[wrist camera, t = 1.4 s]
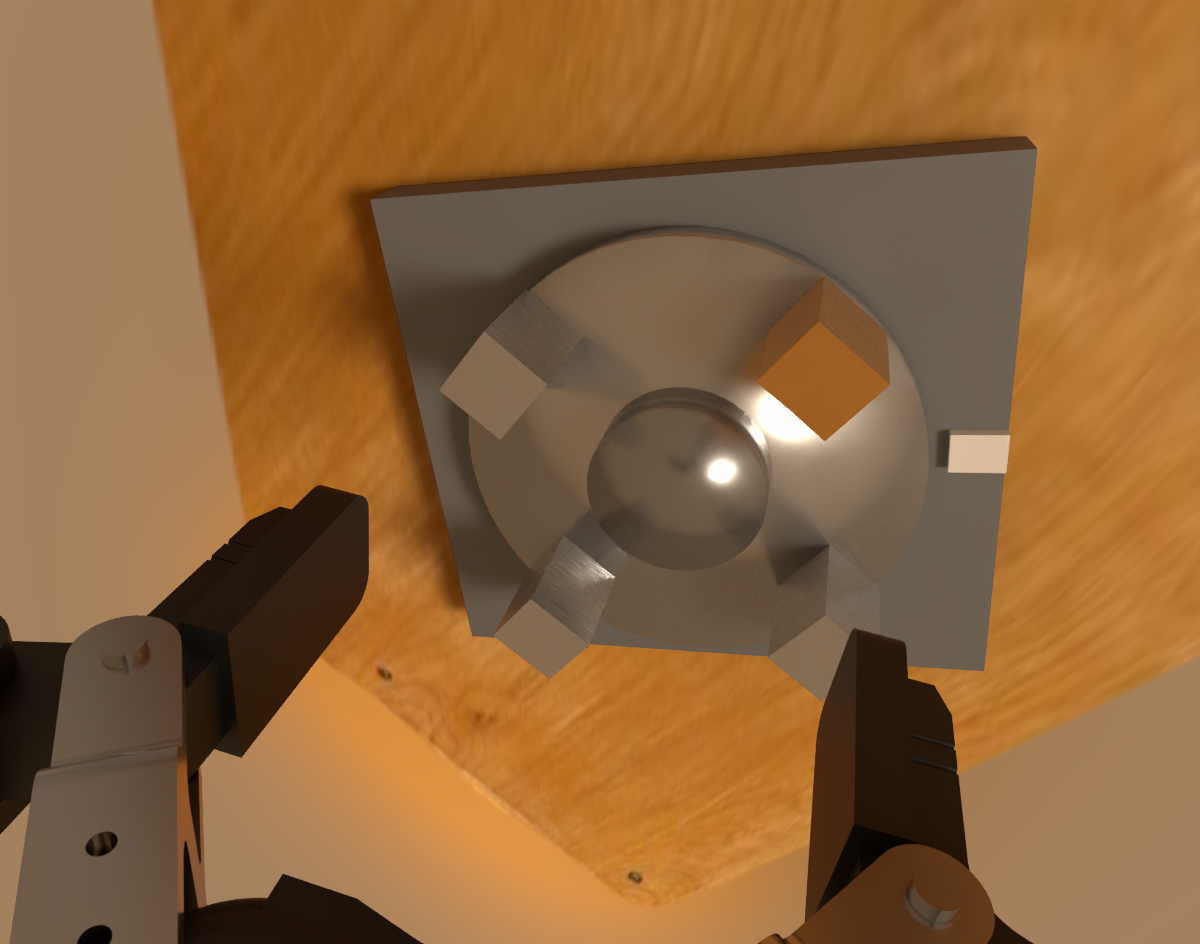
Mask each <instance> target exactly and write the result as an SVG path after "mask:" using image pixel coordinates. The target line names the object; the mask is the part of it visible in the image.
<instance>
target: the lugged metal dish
mask: <svg viewBox="0 0 1200 944" xmlns="http://www.w3.org/2000/svg"><path fill="white" fill-rule="evenodd" d="M439 391H441V392H442V393H443V394H444V395H445V396H447V397H448V398H449V399H450V400H452V401H453V402H454V403H455V404H457V405H458V406H459V407H460V408H461V409H463V410H464V411H465V412H466V413H468V414H469V444H470V451H471V458H472V464H473V468H474V472H475V475H476V479H477V482H478V486H479V489H480V491H481V494H482V496H483V498H484V501H485V503H486V506H487V508H488V510H489V512H490V514H491V516H492V518H493V519H494V521H495V523H496V525H497V527H498V528H499V530H500V532H501V534H502V535H503V536H504V538H505V539H506V540H507V542H508V543H509V545H510V546H511V547H512V549H513V550H514V551H515V553H516V554H517V555H518V556H519V557H520V559H521V560H522V561H523V562H524V563H525V564H526V565H527V566H528V567H529V568H530V569H529V570H528V572H527V574H526V576H525V578H524V579H523V581H522V583H521V585H520V587H519V589H518V590H517V592H516V594H515V596H514V598H513V600H512V601H511V603H510V605H509V607H508V609H507V611H506V613H505V614H504V616H503V618H502V620H501V622H500V624H499V625H498V627H497V629H496V631H495V633H494V635H493V636H495V637H496V638H497V639H499V640H500V641H501V642H502V643H504V644H505V645H506V646H508V647H509V648H510V649H511V650H513V651H514V652H515V653H517V654H518V655H519V656H520V657H522V658H523V659H524V660H526V661H527V662H528V663H530V664H531V665H532V666H533V667H535V668H536V669H537V670H539V671H540V672H541V673H542V674H544V675H545V676H546V677H548V678H549V679H550V678H552V677H553V676H554V675H555V674H556V673H557V672H559V671H560V670H561V669H562V668H563V667H564V666H565V665H567V664H568V663H569V662H570V661H571V660H572V659H574V658H575V657H576V656H577V655H578V654H579V653H581V652H582V651H583V650H584V649H585V648H586V647H587V646H589V644H590V642H591V639H592V637H593V634H594V632H595V629H596V626H597V624H598V621H599V620H601V621H604V622H606V623H608V624H610V625H613V626H615V627H617V628H619V629H622V630H625V631H628V632H631V633H634V634H637V635H640V636H643V637H646V638H649V639H654V640H658V641H663V642H667V643H672V644H678V645H687V646H695V647H724V648H728V647H739V646H750V645H757V644H762V643H767V642H770V644H769V652H768V658H769V659H770V660H771V661H773V662H774V663H775V664H776V665H778V666H779V667H780V668H781V669H783V670H784V671H785V672H786V673H787V674H789V675H790V676H791V677H792V678H794V679H795V680H796V681H797V682H799V683H800V684H801V685H802V686H803V687H805V688H806V689H807V690H808V691H810V692H811V693H812V694H813V695H815V696H816V697H817V698H818V699H819V700H821V701H822V700H824V699H825V698H826V697H827V694H828V692H829V689H830V686H831V684H832V681H833V678H834V676H835V673H836V670H837V667H838V665H839V662H840V659H841V657H842V654H843V651H844V649H845V646H846V643H847V641H848V638H849V636H850V633H851V632H852V630H853V629H854V628H856V629H860V630H864V631H867V632H871V633H875V634H879V635H880V595H879V586H878V585H877V584H878V583H879V582H880V581H881V580H882V579H883V578H884V577H885V575H886V574H887V573H888V572H889V571H890V570H891V569H892V567H893V566H894V564H895V563H896V561H897V560H898V558H899V557H900V555H901V554H902V552H903V551H904V549H905V548H906V546H907V544H908V542H909V540H910V538H911V536H912V533H913V531H914V529H915V527H916V525H917V523H918V519H919V516H920V513H921V509H922V506H923V503H924V499H925V495H926V487H927V480H928V473H929V450H928V435H927V427H926V421H925V415H924V410H923V404H922V399H921V394H920V391H919V389H918V386H917V383H916V380H915V377H914V374H913V371H912V368H911V366H910V364H909V362H908V360H907V358H906V356H905V355H904V353H903V351H902V349H901V347H900V345H899V343H898V341H897V340H896V338H895V337H894V335H893V334H892V333H891V331H890V330H889V328H888V327H887V326H886V324H885V323H884V322H883V320H882V319H881V317H880V316H879V315H878V314H877V313H876V312H875V310H874V309H873V308H872V307H871V306H870V305H869V304H868V303H867V302H866V301H865V300H864V299H863V298H862V297H861V296H860V295H859V294H858V293H857V292H856V291H855V290H854V289H852V288H851V287H850V286H849V285H847V284H846V283H845V282H844V281H842V280H841V279H840V278H838V277H837V276H836V275H835V274H833V273H832V272H831V271H829V270H828V269H826V268H824V267H823V266H821V265H819V264H817V263H816V262H814V261H812V260H811V259H809V258H807V257H806V256H804V255H802V254H800V253H798V252H795V251H793V250H791V249H788V248H786V247H784V246H781V245H779V244H777V243H774V242H772V241H769V240H765V239H762V238H758V237H754V236H751V235H747V234H744V233H740V232H735V231H728V230H720V229H713V228H706V227H669V228H661V229H654V230H646V231H639V232H635V233H632V234H628V235H624V236H621V237H617V238H613V239H610V240H607V241H605V242H603V243H600V244H598V245H596V246H593V247H591V248H588V249H586V250H584V251H582V252H580V253H578V254H577V255H575V256H573V257H572V258H570V259H568V260H567V261H565V262H564V263H562V264H560V265H559V266H557V267H556V268H555V269H553V270H552V271H551V272H550V273H548V274H547V275H546V276H545V277H544V278H542V279H541V280H540V281H539V282H538V283H536V284H535V285H534V286H533V287H532V288H531V289H530V290H528V289H526V290H525V291H524V292H523V293H522V294H521V295H520V296H519V297H518V298H517V299H516V300H515V301H514V302H513V303H512V304H511V305H510V306H509V307H508V308H507V309H506V310H505V311H504V312H503V313H502V314H501V315H500V316H499V317H498V318H497V319H496V320H495V321H494V322H493V323H492V324H491V325H490V326H489V327H488V328H487V329H486V330H485V331H484V332H483V333H482V335H481V336H480V337H479V338H478V340H477V341H476V342H475V344H474V345H473V346H472V348H471V349H470V350H469V352H468V353H467V354H466V355H465V357H464V358H463V359H462V361H461V362H460V363H459V365H458V366H457V367H456V368H455V370H454V371H453V372H452V374H451V375H450V376H449V378H448V379H447V380H446V382H445V383H444V384H443V385H442V387H441V388H440V389H439Z"/></svg>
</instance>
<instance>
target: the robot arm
mask: <svg viewBox="0 0 1200 944" xmlns="http://www.w3.org/2000/svg"><path fill="white" fill-rule="evenodd" d="M368 574H369V510H368V502H367V500H366V498H365V497H363V496H360V495H356V494H353V493H349V492H345V491H341V490H338V489H334V488H330V487H326V486H322V485H319V486H316V487H315V488H313V489H312V490H311V491H310V492H309V493H308V494H307V495H306V496H305V497H304V498H303V499H302V500H301V501H300V502H299V503H298V504H297V505H296V506H295V507H294V508H293V509H292V510H291V509H287V508H283V507H278V508H276V509H274V510H272V511H269V512H267V513H265V514H263V515H261V516H259V517H256V518H254V519H252V520H250V521H249V522H248V523H247V524H246V525H244V526H243V527H242V528H241V529H240V530H239V531H238V532H237V533H236V534H235V535H234V536H233V537H231V538H230V539H229V542H228V544H224V545H223V546H222V547H221V548H220V549H219V550H217V551H216V552H215V553H214V554H213V555H212V558H211V560H207V561H206V562H204V563H203V564H202V565H201V566H200V567H199V568H198V569H197V570H196V571H195V572H194V573H193V574H192V575H191V576H189V577H188V578H187V579H186V580H185V581H184V582H183V583H182V584H181V585H180V586H179V587H178V588H176V589H175V590H174V591H173V592H172V593H171V594H170V595H169V596H168V597H167V598H166V599H165V600H163V601H162V602H161V603H160V604H159V605H158V606H157V607H156V608H155V609H154V610H153V611H152V612H151V613H150V614H148V615H147V616H138V615H136V616H125V617H120V618H115V619H112V620H108V621H105V622H103V623H100V624H98V625H96V626H94V627H92V628H90V629H89V630H87V631H86V632H84V633H83V634H81V635H80V636H79V637H78V638H77V639H76V640H75V641H74V642H73V643H57V642H22V641H12V639H11V635H10V631H9V628H8V625H7V623H6V621H5V620H4V619H3V618H2V617H1V616H0V834H1V833H2V832H3V831H4V830H5V829H6V828H7V827H8V826H9V824H10V823H11V822H12V821H13V820H14V819H15V818H16V817H17V816H18V815H19V814H20V813H21V812H22V810H23V809H24V808H25V807H26V806H27V805H28V804H29V803H30V810H29V816H28V823H27V829H26V836H25V843H24V849H23V856H22V863H21V869H20V876H19V883H18V890H17V896H16V903H15V910H14V916H13V923H12V930H11V937H10V943H9V944H423V943H421V942H419V941H417V940H416V939H415V938H413V937H412V936H410V935H409V934H408V933H406V932H404V931H403V930H402V929H400V928H399V927H397V926H396V925H394V924H393V923H391V922H390V921H388V920H387V919H386V918H384V917H383V916H381V915H380V914H378V913H377V912H375V911H374V910H372V909H371V908H370V907H368V906H367V905H365V904H364V903H362V902H361V901H359V900H358V899H356V898H353V897H350V896H347V895H344V894H341V893H338V892H335V891H333V890H329V889H326V888H323V887H320V886H318V885H315V884H311V883H308V882H306V881H303V880H300V879H297V878H294V877H290V876H288V875H285V874H283V875H282V876H281V878H280V879H279V881H278V883H277V884H276V886H275V887H274V889H273V890H272V892H271V894H270V895H269V897H268V898H247V899H235V900H229V901H224V902H218V903H214V904H211V905H207V904H206V893H205V872H204V837H203V806H202V805H203V803H202V776H201V769H200V766H201V764H202V763H203V762H204V761H205V759H206V758H207V757H208V756H209V755H210V753H211V752H212V751H213V750H214V749H216V750H219V751H222V752H225V753H229V754H232V755H235V756H238V757H241V758H242V756H243V755H244V754H245V752H246V751H247V750H248V749H249V747H250V746H251V745H252V743H253V742H254V741H255V739H256V738H257V737H258V736H259V734H260V733H261V732H262V730H263V729H264V728H265V726H266V725H267V724H268V723H269V721H270V720H271V719H272V717H273V716H274V715H275V713H276V712H277V711H278V710H279V708H280V707H281V706H282V705H283V703H284V702H285V701H286V699H287V698H288V697H289V696H290V694H291V693H292V691H293V690H294V689H295V688H296V686H297V685H298V684H299V683H300V681H301V680H302V679H303V677H304V676H305V675H306V673H307V672H308V671H309V670H310V668H311V667H312V666H313V664H314V663H315V662H316V661H317V659H318V658H319V657H320V655H321V654H322V653H323V652H324V650H325V649H326V648H327V646H328V645H329V644H330V643H331V641H332V640H333V639H334V637H335V636H336V635H337V633H338V632H339V631H340V630H341V628H342V627H343V626H344V624H345V623H346V622H347V621H348V619H349V618H350V617H351V615H352V614H353V613H354V611H355V610H356V609H357V607H358V605H359V604H360V602H361V600H362V597H363V595H364V592H365V589H366V585H367V581H368ZM954 746H955V741H954V732H953V722H952V715H951V713H950V711H949V710H948V708H947V706H946V705H945V703H944V701H943V700H942V698H941V696H940V694H939V693H938V691H937V689H936V688H935V686H934V685H931V684H927V683H923V682H920V681H916V680H912V679H909V678H908V670H907V652H906V644H905V642H904V641H901V640H897V639H894V638H890V637H886V636H882V635H879V634H875V633H871V632H867V631H864V630H860V629H856V628H854V629H853V630H852V632H851V633H850V636H849V638H848V641H847V643H846V646H845V649H844V651H843V654H842V657H841V659H840V662H839V665H838V667H837V670H836V673H835V676H834V678H833V681H832V684H831V686H830V689H829V692H828V694H827V697H826V700H825V703H824V706H823V710H822V713H821V717H820V722H819V727H818V733H817V740H816V754H815V770H814V785H813V801H812V817H811V832H810V849H809V863H808V864H809V865H808V879H807V895H806V910H805V923H804V924H803V925H802V926H801V927H799V928H798V929H797V930H796V931H795V932H794V933H792V934H791V935H790V936H788V937H787V938H785V939H782V937H781V936H780V935H778V934H772V935H770V936H768V937H766V938H765V939H763V940H762V941H761V942H759V943H758V944H1033V943H1032V942H1030V941H1028V940H1027V939H1025V938H1024V937H1022V936H1020V935H1019V934H1018V933H1016V932H1015V931H1013V930H1012V929H1011V928H1010V927H1009V926H1007V925H1006V924H1005V923H1004V922H1003V921H1002V920H1001V919H999V917H998V916H996V915H995V913H994V910H993V907H992V904H991V901H990V899H989V897H988V895H987V892H986V891H985V889H984V888H983V886H982V885H981V883H980V882H979V881H978V879H977V878H976V877H975V876H974V875H973V874H972V873H971V872H970V870H969V866H968V859H967V849H966V841H965V831H964V822H963V814H962V805H961V795H960V786H959V777H958V775H957V769H958V768H957V759H956V750H954Z"/></svg>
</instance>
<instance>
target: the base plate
mask: <svg viewBox="0 0 1200 944" xmlns="http://www.w3.org/2000/svg"><path fill="white" fill-rule="evenodd" d="M1036 156H1037V148H1036V147H1035V146H1034V144H1033V143H1032V142H1031V141H1030V140H1029V139H1028V138H1027V136H1026V137H1013V138H1001V139H988V140H976V141H963V142H951V143H938V144H925V145H913V146H900V147H888V148H875V149H863V150H850V151H838V152H825V153H812V154H800V155H787V156H775V157H762V158H750V159H737V160H725V161H712V162H700V163H687V164H674V165H662V166H649V167H637V168H624V169H612V170H599V171H587V172H574V173H561V174H549V175H536V176H524V177H511V178H499V179H486V180H474V181H461V182H448V183H436V184H423V185H411V186H398V187H394V188H392V189H390V190H388V191H386V192H384V193H382V194H380V195H378V196H376V197H374V198H372V199H370V202H371V206H372V211H373V215H374V219H375V223H376V228H377V232H378V236H379V240H380V245H381V249H382V253H383V257H384V262H385V266H386V270H387V274H388V279H389V283H390V287H391V291H392V296H393V300H394V304H395V308H396V313H397V317H398V321H399V326H400V330H401V334H402V338H403V343H404V347H405V351H406V355H407V360H408V364H409V368H410V372H411V377H412V381H413V385H414V389H415V394H416V398H417V402H418V406H419V411H420V415H421V419H422V423H423V428H424V432H425V436H426V441H427V445H428V449H429V453H430V458H431V462H432V466H433V470H434V475H435V479H436V483H437V487H438V492H439V496H440V500H441V504H442V509H443V513H444V517H445V521H446V526H447V530H448V534H449V538H450V543H451V547H452V551H453V556H454V560H455V564H456V568H457V573H458V577H459V581H460V585H461V590H462V594H463V598H464V602H465V607H466V611H467V615H468V619H469V624H470V628H471V632H472V636H481V637H495V636H493V635H494V633H495V631H496V629H497V627H498V625H499V624H500V622H501V620H502V618H503V616H504V614H505V613H506V611H507V609H508V607H509V605H510V603H511V601H512V600H513V598H514V596H515V594H516V592H517V590H518V589H519V587H520V585H521V583H522V581H523V579H524V578H525V576H526V574H527V572H528V570H529V569H530V568H529V567H528V566H527V565H526V564H525V563H524V562H523V561H522V560H521V559H520V557H519V556H518V555H517V554H516V553H515V551H514V550H513V549H512V547H511V546H510V545H509V543H508V542H507V540H506V539H505V538H504V536H503V535H502V534H501V532H500V530H499V528H498V527H497V525H496V523H495V521H494V519H493V518H492V516H491V514H490V512H489V510H488V508H487V506H486V503H485V501H484V498H483V496H482V494H481V491H480V489H479V486H478V482H477V479H476V475H475V472H474V468H473V464H472V458H471V451H470V444H469V414H468V413H466V412H465V411H464V410H463V409H461V408H460V407H459V406H458V405H457V404H455V403H454V402H453V401H452V400H450V399H449V398H448V397H447V396H445V395H444V394H443V393H442V392H441V391H439V389H440V388H441V387H442V385H443V384H444V383H445V382H446V380H447V379H448V378H449V376H450V375H451V374H452V372H453V371H454V370H455V368H456V367H457V366H458V365H459V363H460V362H461V361H462V359H463V358H464V357H465V355H466V354H467V353H468V352H469V350H470V349H471V348H472V346H473V345H474V344H475V342H476V341H477V340H478V338H479V337H480V336H481V335H482V333H483V332H484V331H485V330H486V329H487V328H488V327H489V326H490V325H491V324H492V323H493V322H494V321H495V320H496V319H497V318H498V317H499V316H500V315H501V314H502V313H503V312H504V311H505V310H506V309H507V308H508V307H509V306H510V305H511V304H512V303H513V302H514V301H515V300H516V299H517V298H518V297H519V296H520V295H521V294H522V293H523V292H524V291H525V290H526V289H528V290H530V289H531V288H532V287H533V286H534V285H535V284H536V283H538V282H539V281H540V280H541V279H542V278H544V277H545V276H546V275H547V274H548V273H550V272H551V271H552V270H553V269H555V268H556V267H557V266H559V265H560V264H562V263H564V262H565V261H567V260H568V259H570V258H572V257H573V256H575V255H577V254H578V253H580V252H582V251H584V250H586V249H588V248H591V247H593V246H596V245H598V244H600V243H603V242H605V241H607V240H610V239H613V238H617V237H621V236H624V235H628V234H632V233H635V232H639V231H646V230H654V229H661V228H669V227H706V228H713V229H720V230H728V231H735V232H740V233H744V234H747V235H751V236H754V237H758V238H762V239H765V240H769V241H772V242H774V243H777V244H779V245H781V246H784V247H786V248H788V249H791V250H793V251H795V252H798V253H800V254H802V255H804V256H806V257H807V258H809V259H811V260H812V261H814V262H816V263H817V264H819V265H821V266H823V267H824V268H826V269H828V270H829V271H831V272H832V273H833V274H835V275H836V276H837V277H838V278H840V279H841V280H842V281H844V282H845V283H846V284H847V285H849V286H850V287H851V288H852V289H854V290H855V291H856V292H857V293H858V294H859V295H860V296H861V297H862V298H863V299H864V300H865V301H866V302H867V303H868V304H869V305H870V306H871V307H872V308H873V309H874V310H875V312H876V313H877V314H878V315H879V316H880V317H881V319H882V320H883V322H884V323H885V324H886V326H887V327H888V328H889V330H890V331H891V333H892V334H893V335H894V337H895V338H896V340H897V341H898V343H899V345H900V347H901V349H902V351H903V353H904V355H905V356H906V358H907V360H908V362H909V364H910V366H911V368H912V371H913V374H914V377H915V380H916V383H917V386H918V389H919V391H920V394H921V399H922V404H923V410H924V415H925V421H926V427H927V435H928V450H929V473H928V480H927V487H926V495H925V499H924V503H923V506H922V509H921V513H920V516H919V519H918V523H917V525H916V527H915V529H914V531H913V533H912V536H911V538H910V540H909V542H908V544H907V546H906V548H905V549H904V551H903V552H902V554H901V555H900V557H899V558H898V560H897V561H896V563H895V564H894V566H893V567H892V569H891V570H890V571H889V572H888V573H887V574H886V575H885V577H884V578H883V579H882V580H881V581H880V582H879V583H878V584H877V585H878V586H879V595H880V635H882V636H886V637H890V638H894V639H897V640H901V641H904V642H905V644H906V652H907V666H916V667H930V668H945V669H959V670H974V671H984V665H985V655H986V645H987V636H988V626H989V616H990V606H991V596H992V587H993V577H994V567H995V557H996V547H997V538H998V528H999V518H1000V508H1001V499H1002V489H1003V479H1004V473H1006V471H1007V461H1008V452H1009V442H1010V433H1009V420H1010V410H1011V401H1012V391H1013V381H1014V371H1015V361H1016V352H1017V342H1018V332H1019V322H1020V313H1021V303H1022V293H1023V283H1024V273H1025V264H1026V254H1027V244H1028V234H1029V224H1030V215H1031V205H1032V195H1033V185H1034V175H1035V166H1036ZM495 638H496V637H495ZM590 644H597V645H611V646H626V647H640V648H655V649H669V650H684V651H698V652H713V653H727V654H742V655H756V656H768V652H769V644H770V642H767V643H762V644H757V645H750V646H739V647H728V648H724V647H695V646H687V645H678V644H672V643H667V642H663V641H658V640H654V639H649V638H646V637H643V636H640V635H637V634H634V633H631V632H628V631H625V630H622V629H619V628H617V627H615V626H613V625H610V624H608V623H606V622H604V621H601V620H599V621H598V624H597V626H596V629H595V632H594V634H593V637H592V639H591V642H590Z"/></svg>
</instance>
